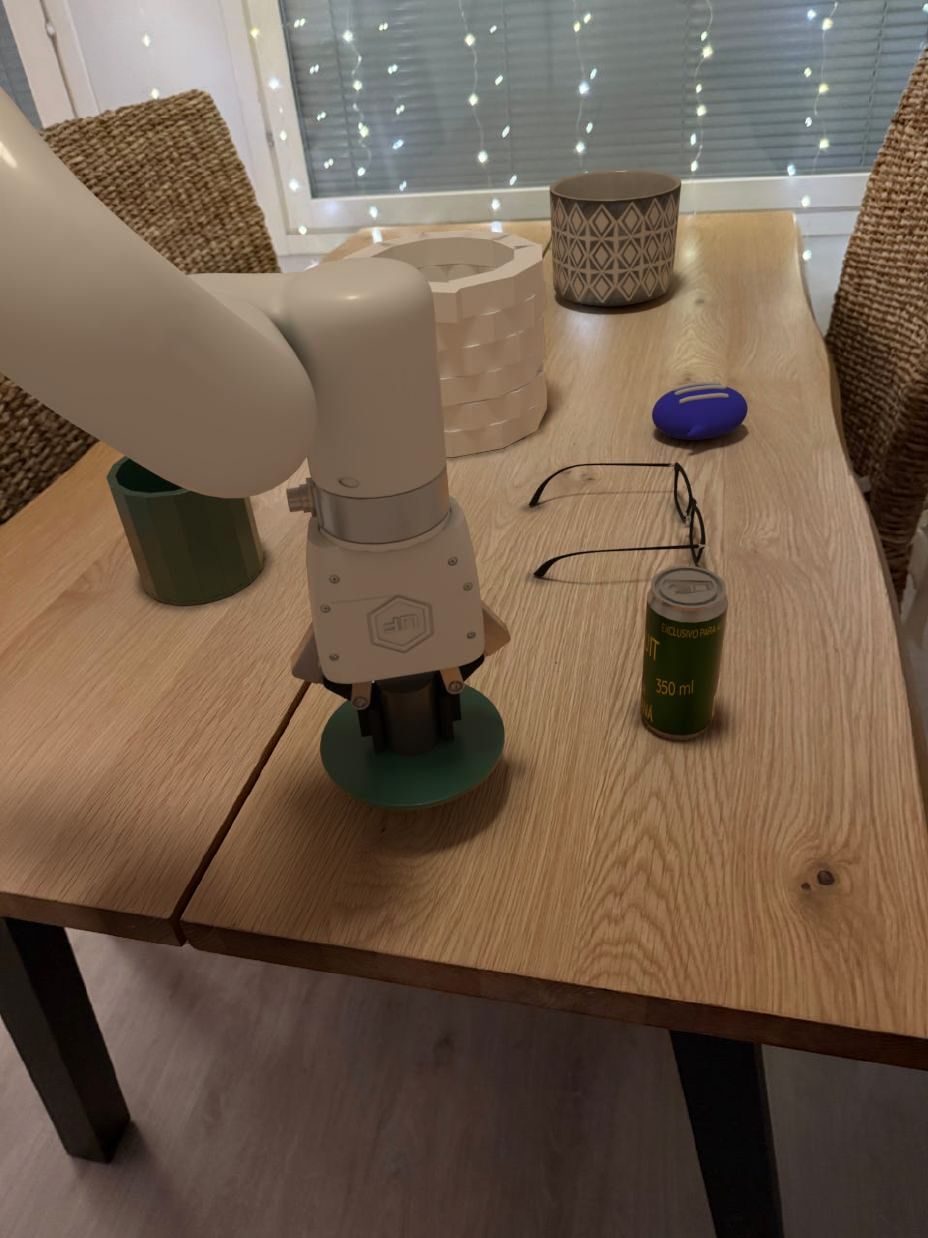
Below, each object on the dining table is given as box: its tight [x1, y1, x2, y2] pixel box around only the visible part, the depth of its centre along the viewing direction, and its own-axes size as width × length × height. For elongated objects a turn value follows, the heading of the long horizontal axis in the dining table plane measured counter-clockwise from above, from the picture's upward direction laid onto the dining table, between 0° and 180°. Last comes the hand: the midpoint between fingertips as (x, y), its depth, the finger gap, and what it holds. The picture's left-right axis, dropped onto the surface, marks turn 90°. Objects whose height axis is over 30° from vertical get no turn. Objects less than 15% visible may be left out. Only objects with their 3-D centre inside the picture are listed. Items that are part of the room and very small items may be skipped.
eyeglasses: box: [528, 461, 707, 578], centre depth 88 cm, size 16×16×4 cm
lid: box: [319, 671, 506, 811], centre depth 61 cm, size 13×13×7 cm
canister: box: [106, 455, 265, 606], centre depth 86 cm, size 12×12×12 cm
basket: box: [342, 229, 548, 459], centre depth 109 cm, size 25×24×19 cm
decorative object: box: [651, 380, 749, 441], centre depth 103 cm, size 10×6×10 cm
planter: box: [549, 168, 682, 308], centre depth 141 cm, size 19×19×16 cm
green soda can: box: [639, 565, 729, 741], centre depth 65 cm, size 5×5×12 cm
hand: (411, 730), depth 62 cm, fingers closed on lid, 4 cm apart
